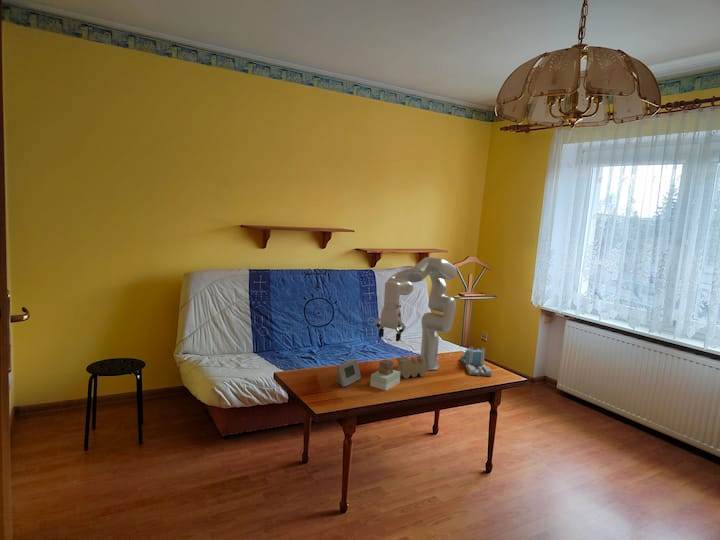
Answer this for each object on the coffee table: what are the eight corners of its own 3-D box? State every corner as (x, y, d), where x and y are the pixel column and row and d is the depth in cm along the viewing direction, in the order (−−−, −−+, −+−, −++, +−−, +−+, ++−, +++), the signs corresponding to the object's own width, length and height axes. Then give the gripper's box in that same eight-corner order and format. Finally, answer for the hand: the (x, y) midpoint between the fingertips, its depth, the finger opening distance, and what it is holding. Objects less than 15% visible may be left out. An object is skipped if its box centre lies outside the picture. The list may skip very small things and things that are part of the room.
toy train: (427, 376, 251) (429, 358, 250) (400, 379, 245) (401, 360, 243) (422, 373, 256) (424, 355, 255) (395, 375, 250) (396, 357, 248)
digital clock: (342, 388, 226) (343, 367, 225) (330, 383, 232) (331, 362, 231) (365, 381, 238) (366, 361, 237) (352, 376, 244) (354, 356, 243)
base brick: (384, 378, 243) (385, 367, 243) (399, 382, 239) (400, 371, 238) (370, 385, 232) (371, 374, 231) (385, 390, 227) (386, 378, 226)
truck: (479, 361, 285) (481, 337, 284) (491, 377, 257) (494, 351, 255) (459, 359, 286) (461, 336, 284) (469, 376, 257) (471, 349, 255)
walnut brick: (384, 370, 238) (385, 359, 237) (392, 372, 235) (393, 361, 235) (379, 372, 234) (379, 361, 233) (387, 375, 231) (388, 363, 230)
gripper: (410, 307, 231) (408, 340, 233) (380, 302, 240) (378, 334, 243) (403, 309, 225) (400, 343, 227) (372, 304, 234) (371, 337, 236)
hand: (389, 338), depth 235 cm, fingers open, 9 cm apart
